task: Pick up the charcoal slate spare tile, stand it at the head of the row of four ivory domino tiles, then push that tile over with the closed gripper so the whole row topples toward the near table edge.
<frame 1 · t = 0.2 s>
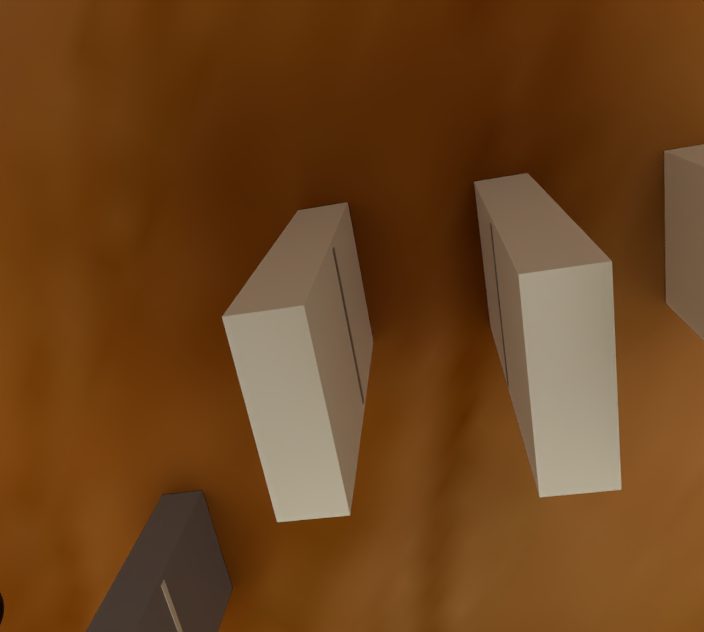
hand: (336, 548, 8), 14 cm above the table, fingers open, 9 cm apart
domino 2: (508, 253, 21), on the table
domino 1: (336, 278, 22), on the table
domino 3: (692, 226, 20), on the table
slate tile: (198, 542, 26), on the table
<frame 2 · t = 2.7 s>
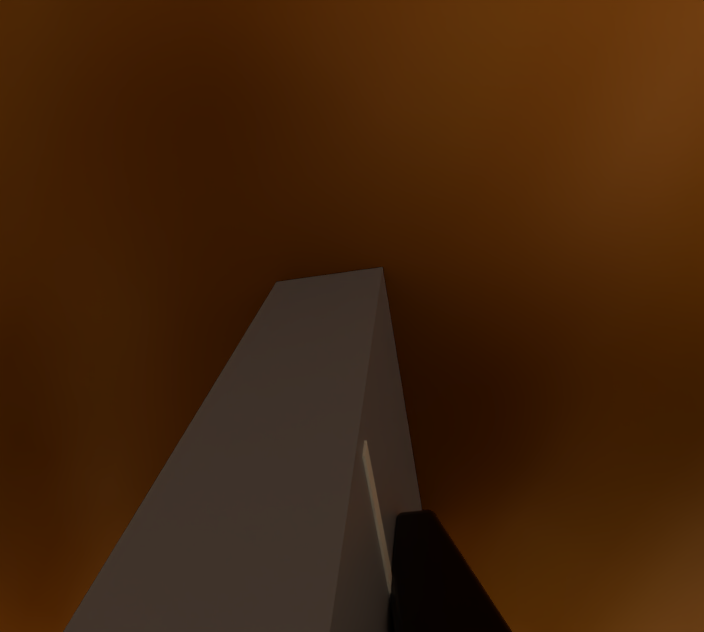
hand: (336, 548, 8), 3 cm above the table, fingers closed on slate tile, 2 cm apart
slate tile: (356, 416, 11), on the table, touching gripper
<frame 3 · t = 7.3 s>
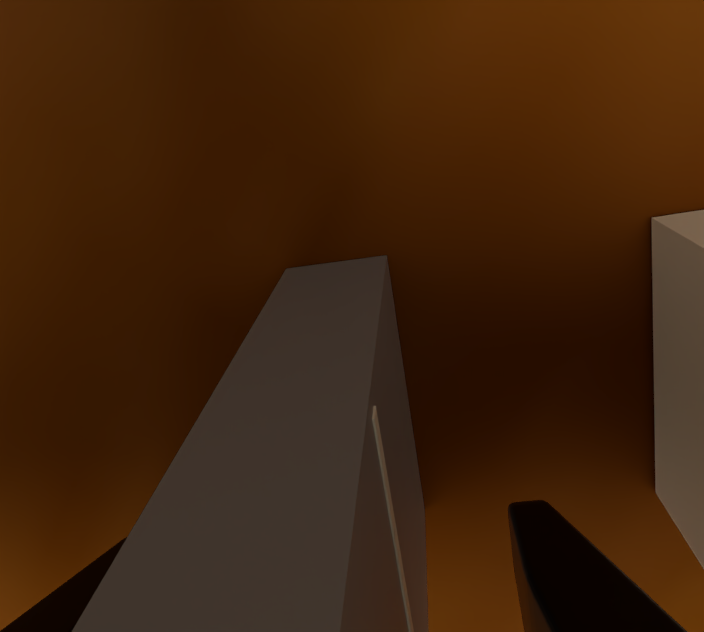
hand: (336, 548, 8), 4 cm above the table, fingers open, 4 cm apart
slate tile: (360, 397, 11), on the table
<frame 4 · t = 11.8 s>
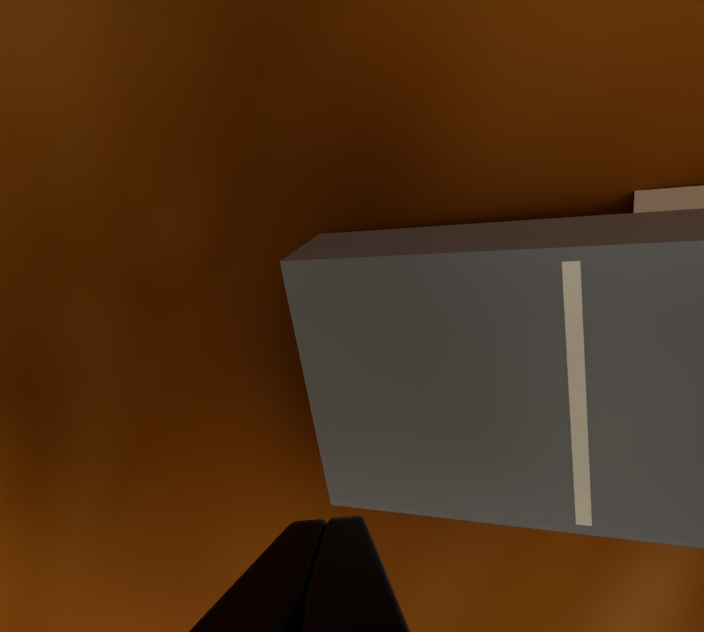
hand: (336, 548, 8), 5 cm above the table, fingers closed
domino 1: (636, 337, 11), point 1 cm above the table, tilted 73°, touching domino 2, slate tile
slate tile: (325, 371, 12), point 1 cm above the table, tilted 73°, touching domino 1
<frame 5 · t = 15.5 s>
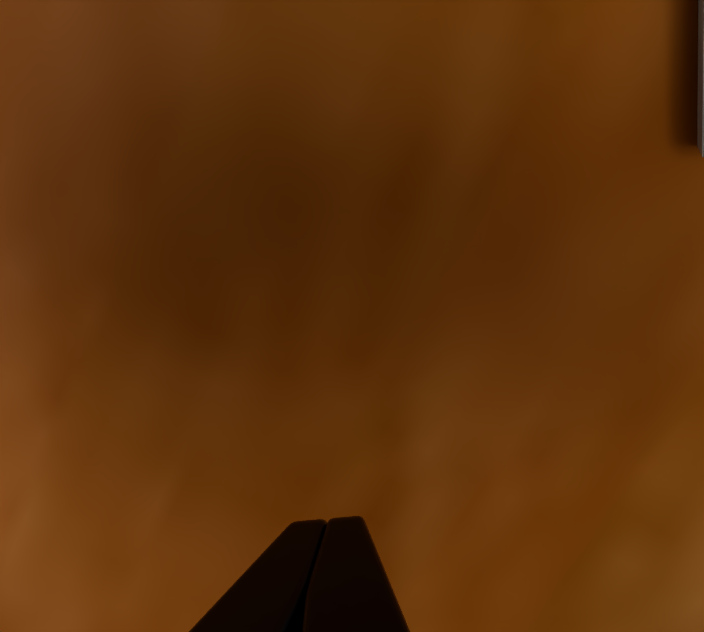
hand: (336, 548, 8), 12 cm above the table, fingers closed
slate tile: (700, 51, 16), point 1 cm above the table, tilted 73°
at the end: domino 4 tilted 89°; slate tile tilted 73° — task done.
